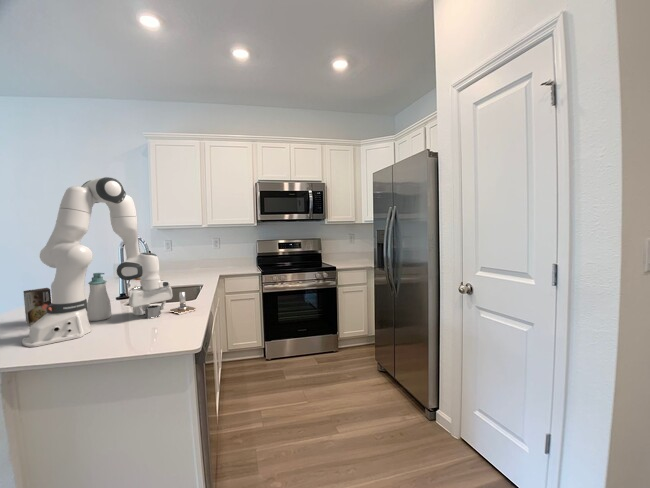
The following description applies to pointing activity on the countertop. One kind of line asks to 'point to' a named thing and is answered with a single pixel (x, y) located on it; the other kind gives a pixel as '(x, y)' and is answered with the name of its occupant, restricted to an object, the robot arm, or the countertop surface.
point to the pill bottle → (135, 309)
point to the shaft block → (182, 304)
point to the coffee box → (36, 304)
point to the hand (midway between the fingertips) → (152, 311)
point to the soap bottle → (98, 299)
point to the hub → (152, 311)
